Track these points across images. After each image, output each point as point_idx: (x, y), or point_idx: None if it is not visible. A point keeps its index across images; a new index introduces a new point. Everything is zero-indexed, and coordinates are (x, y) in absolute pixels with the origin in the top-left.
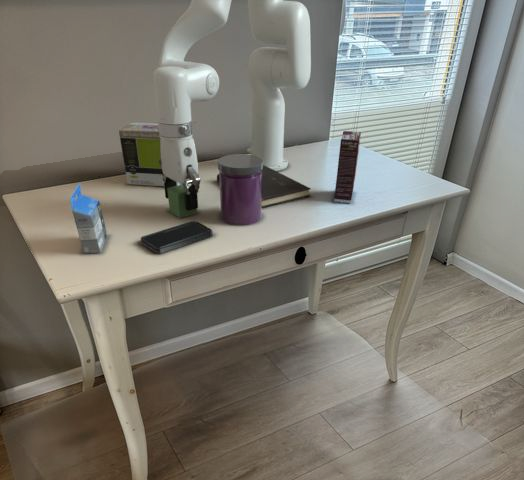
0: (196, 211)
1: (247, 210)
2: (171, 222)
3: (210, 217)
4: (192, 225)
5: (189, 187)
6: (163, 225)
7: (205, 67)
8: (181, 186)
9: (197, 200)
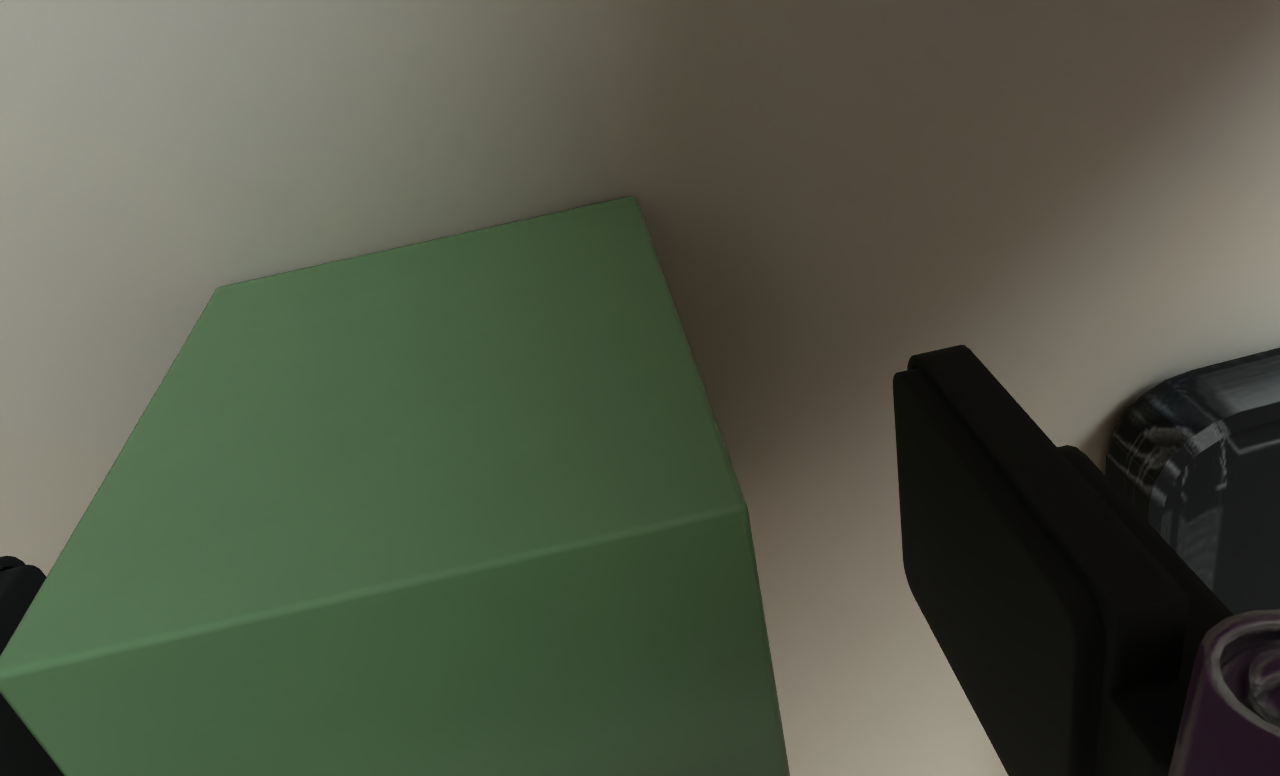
0: (642, 219)
1: None
2: (787, 645)
3: (977, 5)
4: (1269, 510)
5: (442, 617)
6: (822, 737)
7: None
8: None
9: (1042, 438)
